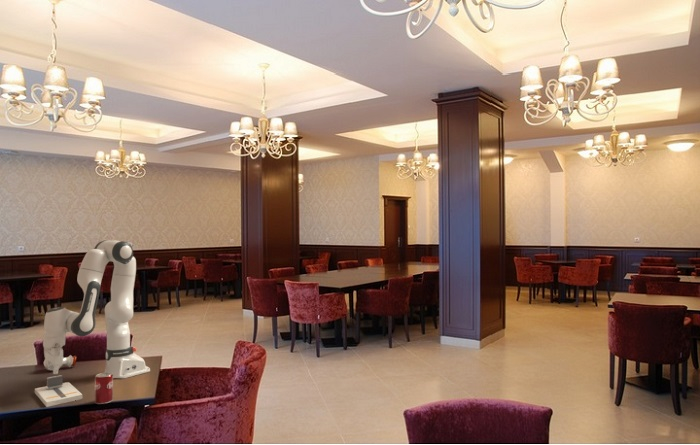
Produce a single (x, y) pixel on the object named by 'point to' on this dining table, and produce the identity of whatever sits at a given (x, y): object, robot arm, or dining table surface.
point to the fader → (55, 382)
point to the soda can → (103, 388)
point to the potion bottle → (66, 361)
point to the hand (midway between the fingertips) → (53, 371)
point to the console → (58, 394)
